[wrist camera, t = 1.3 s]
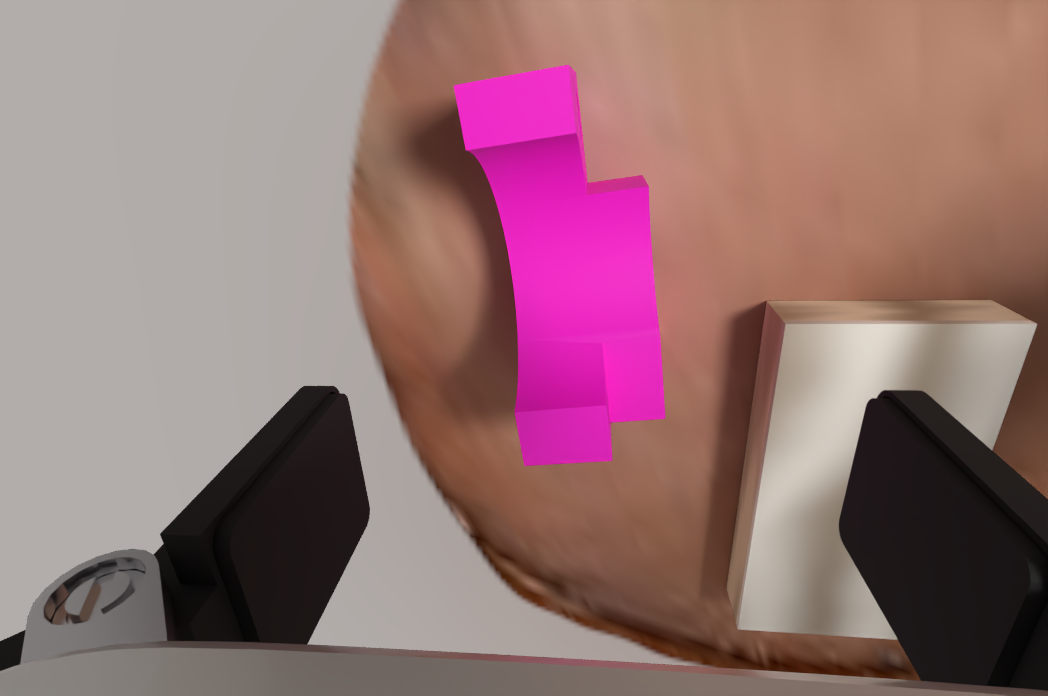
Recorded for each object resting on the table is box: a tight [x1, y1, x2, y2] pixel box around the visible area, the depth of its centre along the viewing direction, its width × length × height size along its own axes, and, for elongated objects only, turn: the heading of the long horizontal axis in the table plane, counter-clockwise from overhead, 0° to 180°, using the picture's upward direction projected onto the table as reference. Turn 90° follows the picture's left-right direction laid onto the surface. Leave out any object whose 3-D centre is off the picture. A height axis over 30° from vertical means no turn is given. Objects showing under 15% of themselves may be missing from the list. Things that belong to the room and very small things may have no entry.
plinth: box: [727, 300, 1037, 640], centre depth 29 cm, size 10×19×3 cm, turn 3°
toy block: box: [454, 65, 665, 466], centre depth 24 cm, size 15×6×8 cm, turn 9°
